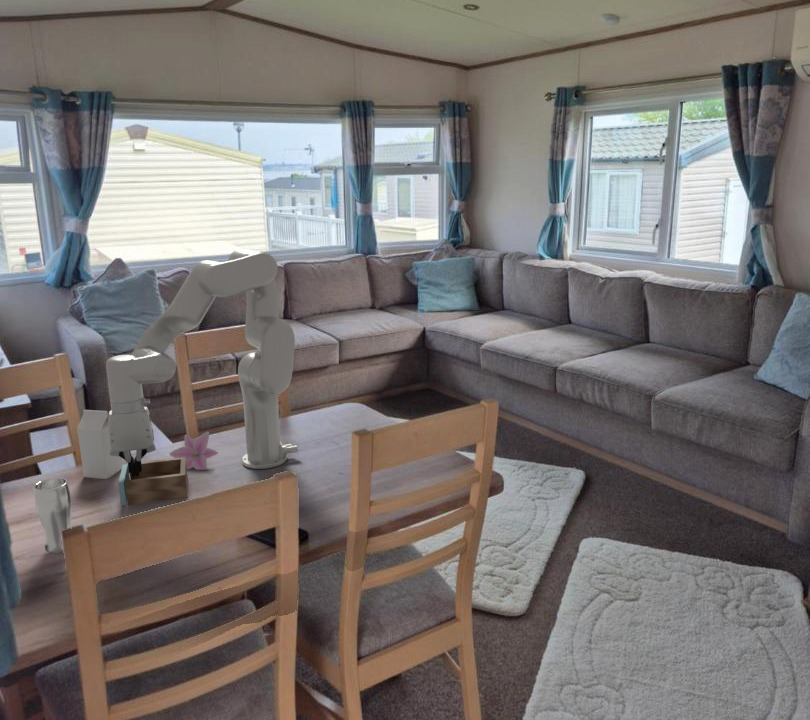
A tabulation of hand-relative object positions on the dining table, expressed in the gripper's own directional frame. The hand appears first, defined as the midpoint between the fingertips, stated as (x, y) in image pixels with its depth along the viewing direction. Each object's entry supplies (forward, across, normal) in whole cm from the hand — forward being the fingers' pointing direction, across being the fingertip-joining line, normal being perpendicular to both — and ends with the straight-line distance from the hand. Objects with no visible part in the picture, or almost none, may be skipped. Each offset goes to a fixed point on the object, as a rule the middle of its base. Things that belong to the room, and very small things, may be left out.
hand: (135, 474), depth 174 cm
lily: (+7, -14, -14) cm, 21 cm away
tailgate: (+5, +2, 0) cm, 6 cm away
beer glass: (+7, +15, +20) cm, 26 cm away
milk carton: (+7, +10, -17) cm, 21 cm away
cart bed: (+6, -5, 0) cm, 8 cm away
